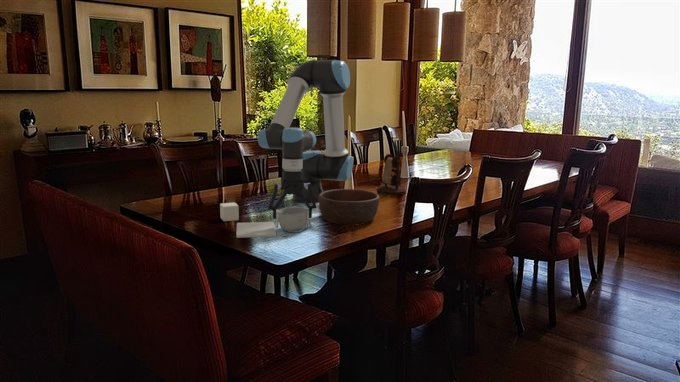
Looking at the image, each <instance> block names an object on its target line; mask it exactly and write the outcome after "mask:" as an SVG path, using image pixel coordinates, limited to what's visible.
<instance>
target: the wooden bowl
mask: <svg viewBox="0 0 680 382" xmlns="http://www.w3.org/2000/svg"><path fill="white" fill-rule="evenodd" d="M318 200H319V202H318V205H319V206H318V207H319V210H320V214H321V216H322V217H323V219H324V220H325V221H327V222H329V223H331V224H335V223H336V224H335V225H341V224H344V226H356V225H355V224H359V225H363V224H362V223H365V224H368V223H371V222H372V221H373V220H374V218H375V217H376V215H377V212H378V210H379V209H378V208H379V206H380V205H379V204H380V194H379V193H377V192H374V191H371V190H365V189H357V188H335V189H329V190H323V192H321V193H320V194H319V195H318ZM367 222H368V223H367Z"/></svg>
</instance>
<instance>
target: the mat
mask: <svg viewBox="0 0 680 382" xmlns="http://www.w3.org/2000/svg"><path fill="white" fill-rule="evenodd" d="M263 237H264V238H265V237H269V238H270V237H277V233H276V227H275V223H274V221H256V222H255V221H253V222H252V221H251V222H236V238H237V239H239V238H263Z"/></svg>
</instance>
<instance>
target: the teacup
mask: <svg viewBox="0 0 680 382" xmlns="http://www.w3.org/2000/svg"><path fill="white" fill-rule="evenodd" d="M307 209H308V208H306V207H303V206H302V207H301V206H296V205H294V206H287V207H283V208H280V209H278V224H279V226H280V228H281V229H282V230H283V231H285V232H286V233H298V232H301V231H303V230H304V229H305V228H307V226H306V225H307Z"/></svg>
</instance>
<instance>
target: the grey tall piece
mask: <svg viewBox="0 0 680 382" xmlns="http://www.w3.org/2000/svg"><path fill="white" fill-rule="evenodd" d="M383 162H384V168H383V178H382V179H383V180H382V181H383V183H384V185H381V186H378V187H377V188H376V193H377V192H378V193H377V194H383V195H387V196H388V195H390V196H392V195H394V196H395V195H397V196H398V195H404V194H405V195H406V193H407V189H406V188H405V187H402V186H399V184H400V183H401V176H400V174H401V171H400V170H401V169H400V165H401V163H402V159H401V157H400V156H398V155H394V156H393V155H392V154H390V153H387V154H386V155H384V157H383ZM393 173H395V174H393Z"/></svg>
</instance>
